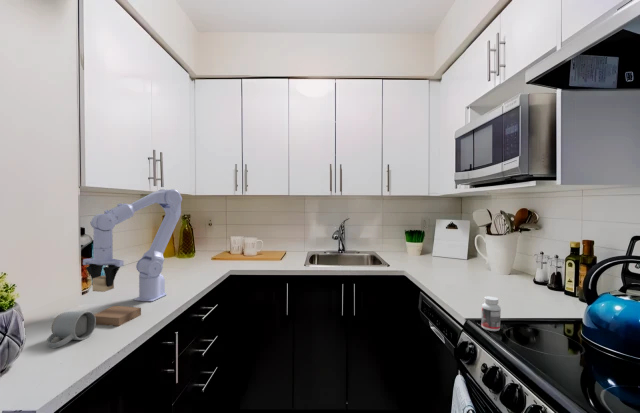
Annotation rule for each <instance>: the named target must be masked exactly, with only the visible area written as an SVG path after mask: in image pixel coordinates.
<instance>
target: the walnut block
mask: <svg viewBox="0 0 640 413" xmlns="http://www.w3.org/2000/svg"><path fill="white" fill-rule="evenodd" d="M93 314H94V315H95V318H96V325H98V326H99V325H100V326H109V325H114V326H113V327H120V326H123V325H125V324H127V323H129V322H131V321H133V320H134V319H136V318H138V317H140V316H142V307H140V306H138V307H137V306H124V305H113V306H111V307H108V308H105V309H103V310H101V311H99V312H96V313H93Z"/></svg>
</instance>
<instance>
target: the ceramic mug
mask: <svg viewBox="0 0 640 413" xmlns="http://www.w3.org/2000/svg"><path fill="white" fill-rule="evenodd" d="M94 314H95V313H93V311H91V310H82V311H81V310H79V311H65V312H62V313H59V314H58V315H57V316H56V317H55V318H54V319H53V321H52V324H51V334H50V335H49V336H48V338H47V340H46V342H47V345H48V346H49V347H50V348H52V347H57V348H61V347H63V346H64V345H66V344H68V343H69V342H70V341H72V340H73V341H75V340H76V341H84V340H86V339H88V338H90V336H92V334H93V332H94V331H95V328H96V325H97V324H96V318H95V315H94ZM55 338H58V339H62V340H59V341H57V342H54V343H53V340H55Z"/></svg>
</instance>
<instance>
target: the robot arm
mask: <svg viewBox="0 0 640 413" xmlns="http://www.w3.org/2000/svg"><path fill="white" fill-rule="evenodd" d="M182 201H183V197H182V195H181V193H180V191H178V190H177V189H175V188H171V189H164V188H162V189H159V190H156V191H153V192H151V193H149V194H147V195H146V196H143V197H142V198H139V199H137V200H136V201H134V202H132V203H130V204H129V203H124V202H123V203H116V206H115V207H113V208H110V209H109V210H108V209H105V210H103V212H104V213H96V215H94V216H93V217H92V219H91V221H90V226H91V228H93V235H92V236H93V241H92V242H93V246H92V247H93V258H84V259H82V265H83V266H86V267H85V270H86V271H87V272H88V274H89V276H90V278H91V279H92V278H96V277H99V276H102V271H103V272H104V276H106V285H107V287H109V286H112V285H113V282H114V283H115V278H116V275H117V273H118V272H119V270H120V268H121V267H123V266H125V265H124V264H125V263H124V262H125V261H124V260H123V259H118V258H117V259H116V258H113V257H114V255H113V251H114V250H113V249H114V248H113V241H114V240H113V236H114V235H113V229H114V228H115V226H117V225H119V224H121V223H123V222H124V221H126V220H128V219H130V218H132V217H133V216H134V215H135V212H137V211H140V210H141V209H142V210H143V209H144V208H146V207H149V206H151V205H153V204H158V205H159V206H160V207H161V208H162V209H163V211H164V217H163V219H162V221H161V224H160V225H159V227H158V230H157V232H156V234H155V236H154V238H153V239H152V240H153V241H152V243H151V245H150V247H149V248H148V250H147V251H146V252H144V254H143V255H142V257H141V258H140V259H139V260H138V261H137V262H136V265H135V269H136V270H137V272H138V273H139V275H138V276H139V277H138V288H139V289H138V297H135V298H134V299H133V301H139V302H141V301H142V302H154V301H156V300H158V299H161V298H163V297H165V296H167V295H168V294H167V293H165V292H166V289H165V288H166V286H165V285H166V281H165V276H164V275H163V274H162V272H163V270H164V269H163V268H164V267H163V265H164V262H165V257H164V253H165V251H166V248H167V246H168V243H169V242H170V240H171V237H172V235H173V233H174V230H175V228H176V225H177V224H178V222H179V220H180V217H181V215H182ZM87 265H88V266H87Z"/></svg>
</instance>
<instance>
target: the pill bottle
mask: <svg viewBox="0 0 640 413" xmlns="http://www.w3.org/2000/svg"><path fill="white" fill-rule="evenodd" d="M483 298H484V299H483V300H484V301H483V302H484V303H482V304H481V322H480V323H481V324H480V325H481V328H483V329H484V330H486V331H490V332H497V331H498V332H499V331H500V329H501V314H502V313H501V311H502V310H501V309H502V308H501V306H500V305H499V298H498V297H496V296H491V295H490V296H489V295H487V296H484V297H483Z"/></svg>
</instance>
